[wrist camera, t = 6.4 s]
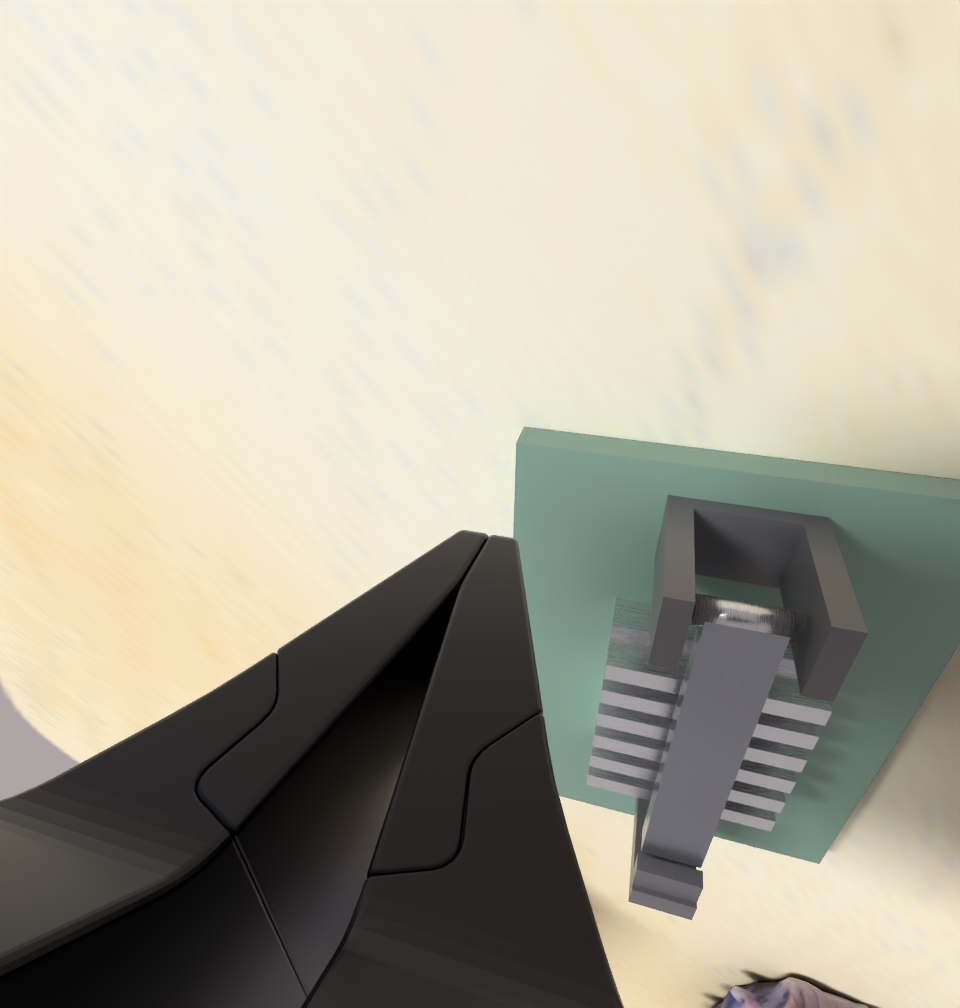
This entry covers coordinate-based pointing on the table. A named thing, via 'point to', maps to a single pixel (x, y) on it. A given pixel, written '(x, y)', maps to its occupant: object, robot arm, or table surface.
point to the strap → (714, 720)
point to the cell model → (783, 996)
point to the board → (735, 598)
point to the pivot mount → (758, 581)
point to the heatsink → (648, 714)
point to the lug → (661, 876)
